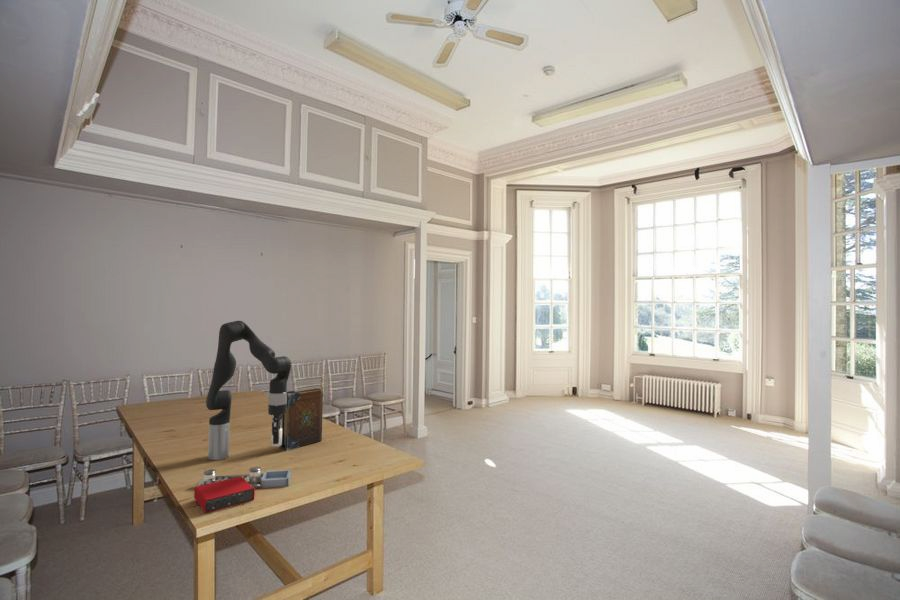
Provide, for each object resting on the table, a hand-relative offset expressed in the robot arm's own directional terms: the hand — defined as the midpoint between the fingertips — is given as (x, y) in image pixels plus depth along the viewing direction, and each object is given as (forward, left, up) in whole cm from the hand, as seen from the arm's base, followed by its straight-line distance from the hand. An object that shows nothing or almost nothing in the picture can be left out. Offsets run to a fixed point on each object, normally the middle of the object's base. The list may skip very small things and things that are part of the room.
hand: (276, 441), depth 195 cm
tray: (0, 0, -17) cm, 17 cm away
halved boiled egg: (0, 0, -1) cm, 1 cm away
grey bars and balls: (0, -18, -17) cm, 25 cm away
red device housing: (+16, -17, -17) cm, 29 cm away
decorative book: (-53, +7, -18) cm, 57 cm away
